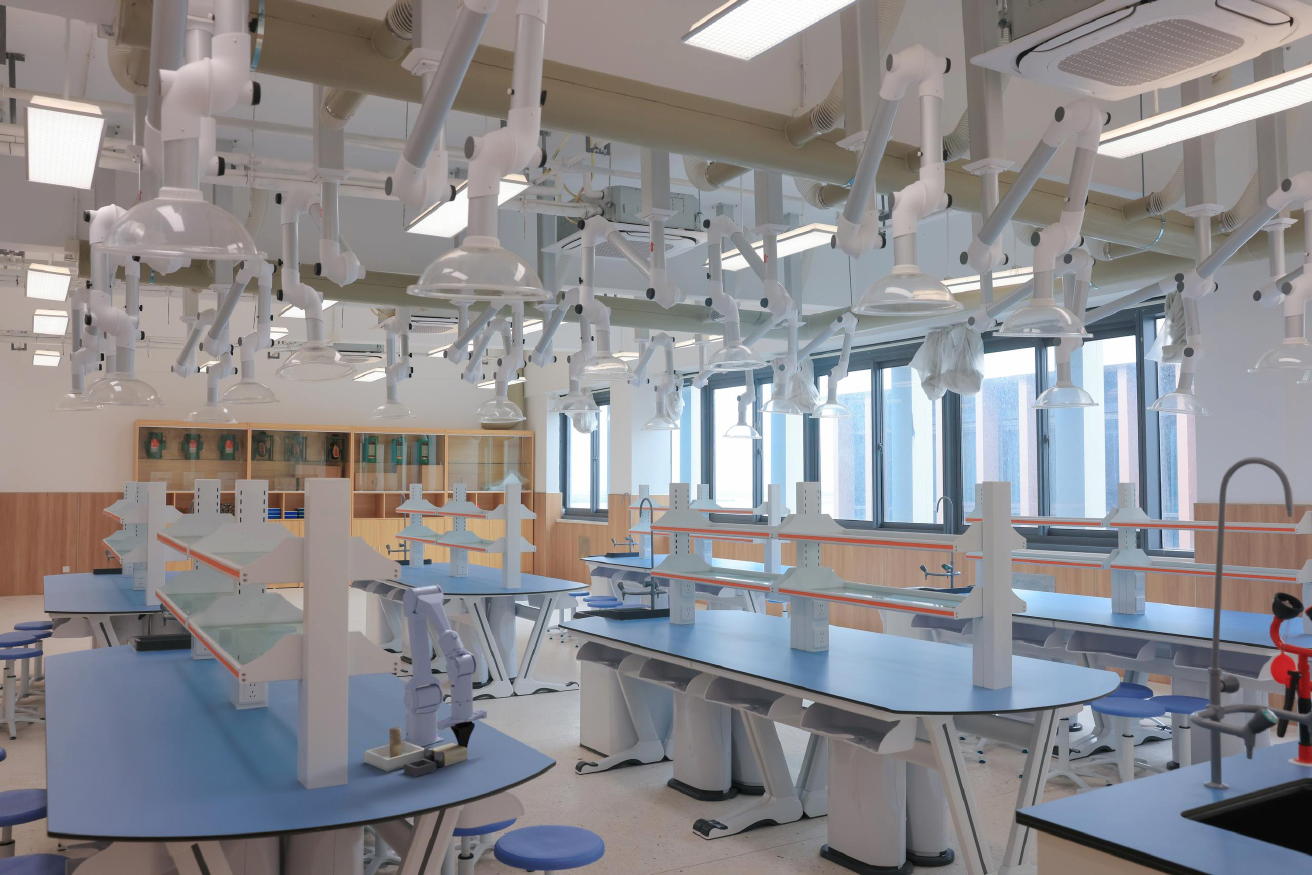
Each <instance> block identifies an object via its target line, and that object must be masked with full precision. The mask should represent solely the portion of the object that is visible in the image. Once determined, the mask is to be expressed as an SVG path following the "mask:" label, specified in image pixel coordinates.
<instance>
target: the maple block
mask: <svg viewBox="0 0 1312 875" xmlns="http://www.w3.org/2000/svg"><path fill="white" fill-rule="evenodd" d="M432 748H433V762H434V753H435V752H439V751H442V752H444V767H446V766H450V765H453V764H457V763H460V762H463V761H466V760H468V747H467V748H466V747H463V746H460V745H458V743H453V742H450V743H447V744H443V745H440V746H435V747H432Z"/></svg>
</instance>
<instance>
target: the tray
mask: <svg viewBox="0 0 1312 875" xmlns="http://www.w3.org/2000/svg"><path fill="white" fill-rule="evenodd" d="M425 748H426V747H425ZM425 748H424V747H423V746H422V747H419V746H417V745H414V744H411V743H408V742H406V741H403V740H401V749H402V755H400V756H396V757H393V758H390V743H389V744H385V745H382V746H378V747H375V748H372V749H371V748H370V749H368V750H364V763H366V764H369V766H372V767H375V768H378V769H380V770H382V771H385V772H387V773H388V772H391V771H396V770H399V769H402V768H404V764H405V763H409V762H412V761H416V760H420V759H423V758H424V749H425Z"/></svg>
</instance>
